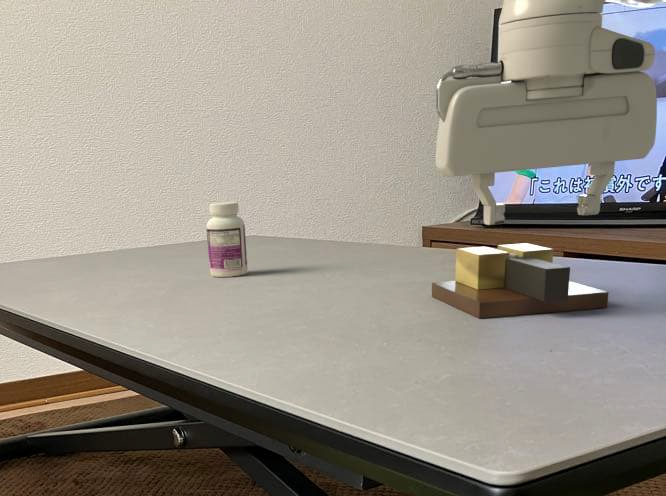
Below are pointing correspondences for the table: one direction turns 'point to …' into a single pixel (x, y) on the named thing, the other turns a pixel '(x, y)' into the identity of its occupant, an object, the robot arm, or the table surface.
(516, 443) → the table surface
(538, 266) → the charcoal gray box
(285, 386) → the table surface
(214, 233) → the pill bottle
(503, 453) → the table surface
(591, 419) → the table surface
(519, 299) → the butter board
